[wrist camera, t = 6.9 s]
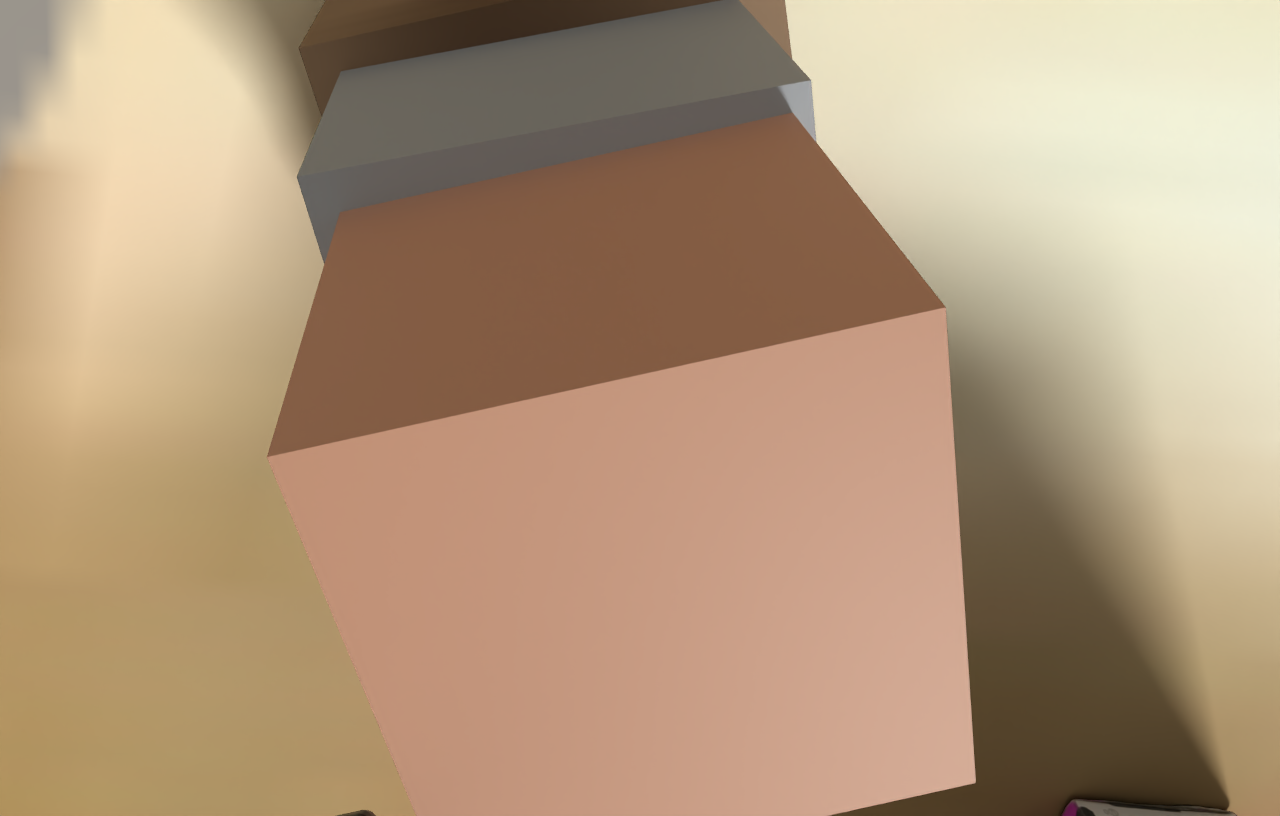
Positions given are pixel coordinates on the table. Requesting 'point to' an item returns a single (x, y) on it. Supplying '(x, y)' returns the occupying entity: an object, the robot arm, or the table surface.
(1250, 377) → the table surface
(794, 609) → the terracotta cube
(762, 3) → the walnut base block
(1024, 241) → the table surface
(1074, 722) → the table surface
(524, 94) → the slate block
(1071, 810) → the candy bar box
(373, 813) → the robot arm
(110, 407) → the table surface
